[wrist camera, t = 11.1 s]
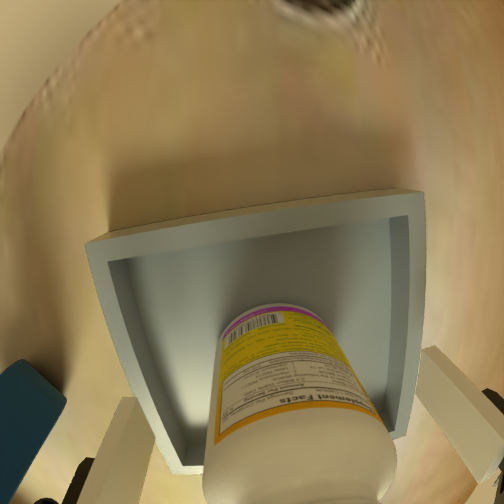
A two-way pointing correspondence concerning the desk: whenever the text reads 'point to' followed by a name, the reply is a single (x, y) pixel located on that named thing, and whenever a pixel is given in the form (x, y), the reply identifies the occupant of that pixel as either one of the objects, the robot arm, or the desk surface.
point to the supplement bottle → (291, 417)
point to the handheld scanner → (24, 422)
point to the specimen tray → (264, 299)
